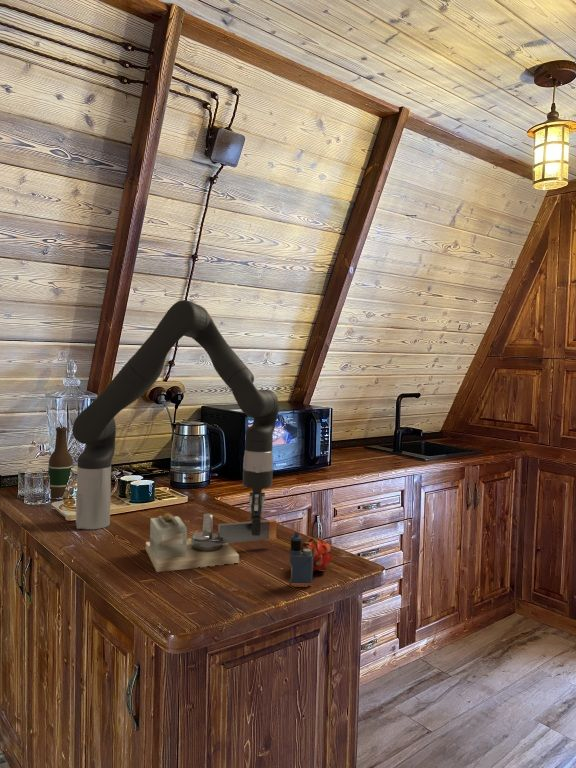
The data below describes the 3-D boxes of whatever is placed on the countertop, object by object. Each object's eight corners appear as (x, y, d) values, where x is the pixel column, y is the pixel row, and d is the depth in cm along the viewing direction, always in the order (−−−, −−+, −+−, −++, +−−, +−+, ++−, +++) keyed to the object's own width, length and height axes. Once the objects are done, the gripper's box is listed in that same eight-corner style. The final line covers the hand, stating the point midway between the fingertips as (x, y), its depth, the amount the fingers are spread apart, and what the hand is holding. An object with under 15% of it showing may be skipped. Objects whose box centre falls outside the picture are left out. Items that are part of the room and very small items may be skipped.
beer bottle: (57, 501, 194) (59, 429, 193) (42, 497, 199) (44, 426, 197) (77, 497, 201) (78, 427, 200) (62, 493, 205) (63, 424, 204)
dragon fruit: (298, 585, 137) (318, 576, 148) (328, 568, 134) (346, 561, 145) (282, 551, 140) (303, 544, 150) (311, 534, 137) (330, 529, 148)
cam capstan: (195, 552, 145) (196, 520, 144) (187, 542, 152) (188, 511, 151) (280, 544, 153) (281, 513, 153) (269, 535, 161) (270, 506, 160)
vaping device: (288, 583, 134) (290, 531, 133) (311, 583, 134) (313, 531, 133) (289, 587, 131) (291, 534, 130) (312, 587, 132) (315, 534, 131)
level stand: (156, 572, 137) (158, 525, 137) (145, 549, 152) (146, 507, 151) (238, 563, 145) (240, 519, 144) (220, 543, 160) (222, 502, 159)
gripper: (244, 462, 157) (242, 527, 158) (241, 472, 144) (239, 542, 145) (272, 463, 158) (270, 527, 158) (272, 473, 144) (270, 543, 145)
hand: (255, 534), depth 152 cm, fingers closed
